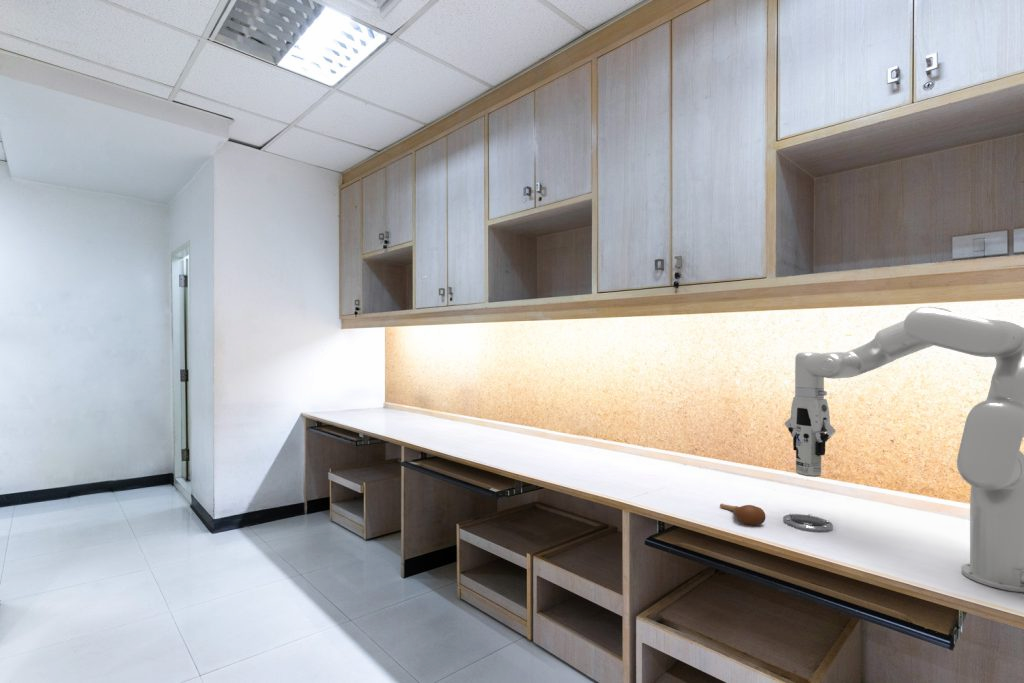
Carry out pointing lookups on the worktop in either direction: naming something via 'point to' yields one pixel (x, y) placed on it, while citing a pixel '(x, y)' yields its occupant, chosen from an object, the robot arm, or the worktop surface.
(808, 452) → the spray can
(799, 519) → the flange
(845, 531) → the worktop surface
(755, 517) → the pipe
